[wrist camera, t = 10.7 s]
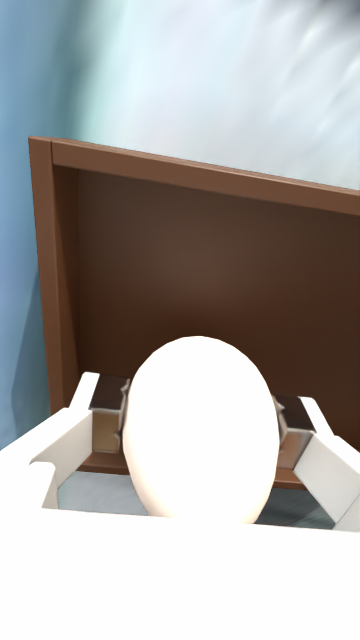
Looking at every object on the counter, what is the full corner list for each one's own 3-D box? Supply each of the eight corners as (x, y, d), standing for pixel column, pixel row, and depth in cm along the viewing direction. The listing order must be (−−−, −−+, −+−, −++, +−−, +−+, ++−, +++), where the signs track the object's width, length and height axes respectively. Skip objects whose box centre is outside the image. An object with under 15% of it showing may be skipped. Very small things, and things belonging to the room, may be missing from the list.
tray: (553, 225, 12) (657, 246, 9) (381, 451, 19) (413, 499, 16) (64, 138, 10) (26, 135, 8) (72, 421, 17) (54, 469, 15)
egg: (214, 283, 11) (258, 442, 5) (271, 370, 13) (349, 555, 7) (110, 345, 12) (50, 527, 6) (177, 415, 14) (178, 602, 8)
